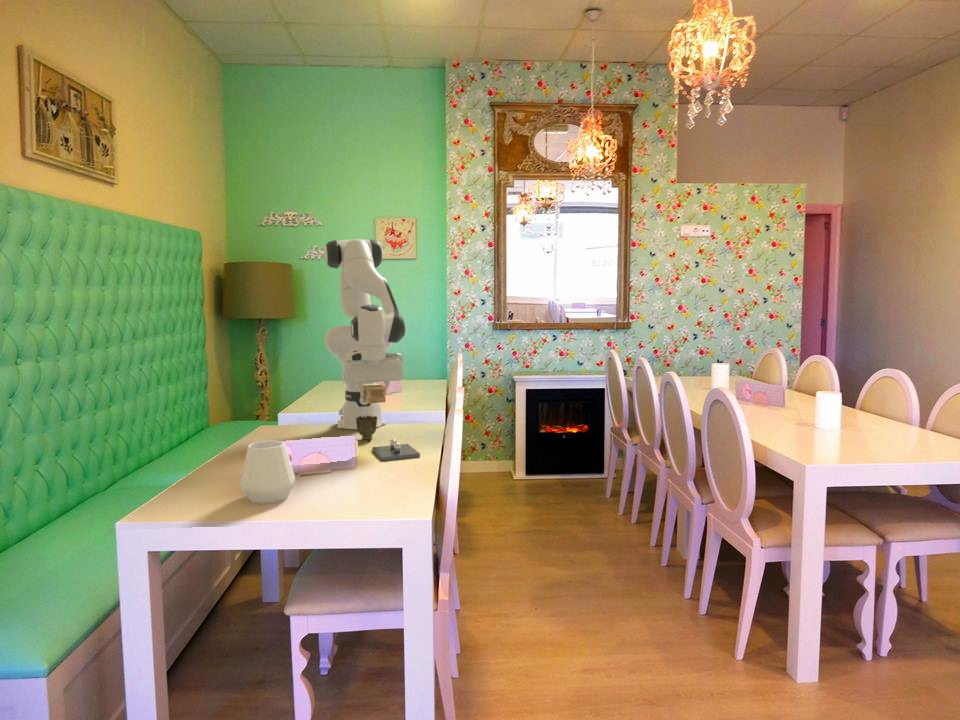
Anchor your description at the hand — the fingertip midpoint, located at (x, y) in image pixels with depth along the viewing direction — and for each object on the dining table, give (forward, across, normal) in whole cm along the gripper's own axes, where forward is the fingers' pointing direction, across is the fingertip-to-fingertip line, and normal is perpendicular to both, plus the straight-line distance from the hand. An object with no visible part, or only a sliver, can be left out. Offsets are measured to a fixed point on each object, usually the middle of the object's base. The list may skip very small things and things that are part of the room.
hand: (373, 395), depth 217 cm
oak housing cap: (+2, 0, 0) cm, 2 cm away
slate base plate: (+17, -4, +13) cm, 22 cm away
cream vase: (+18, +37, +43) cm, 59 cm away
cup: (+18, 0, -11) cm, 21 cm away
